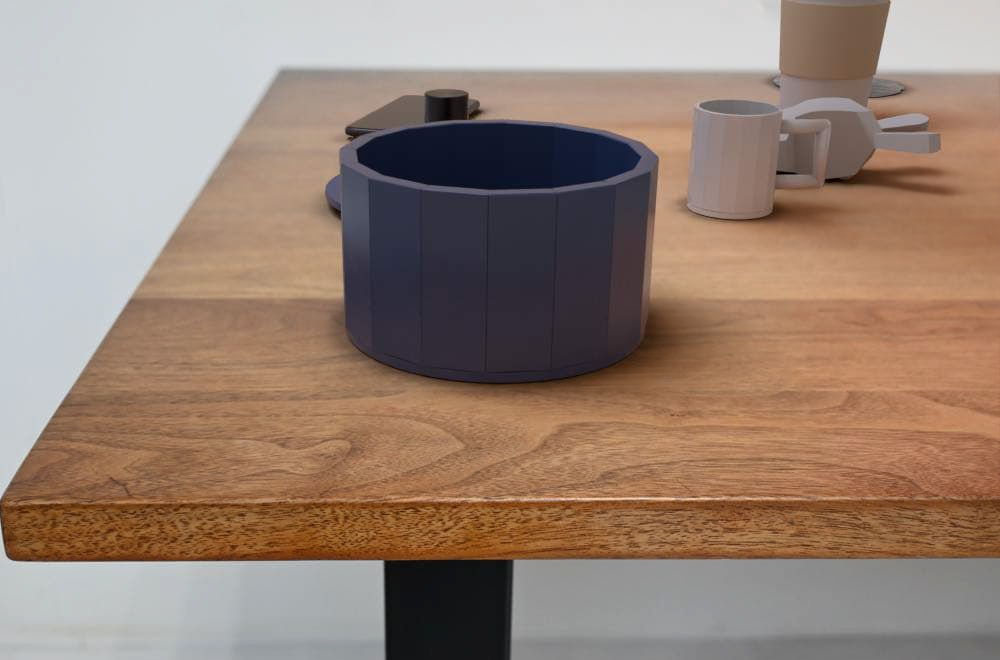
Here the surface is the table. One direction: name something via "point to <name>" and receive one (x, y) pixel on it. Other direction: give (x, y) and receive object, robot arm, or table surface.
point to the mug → (746, 157)
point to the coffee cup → (829, 48)
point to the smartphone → (395, 115)
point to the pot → (497, 248)
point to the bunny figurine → (851, 137)
